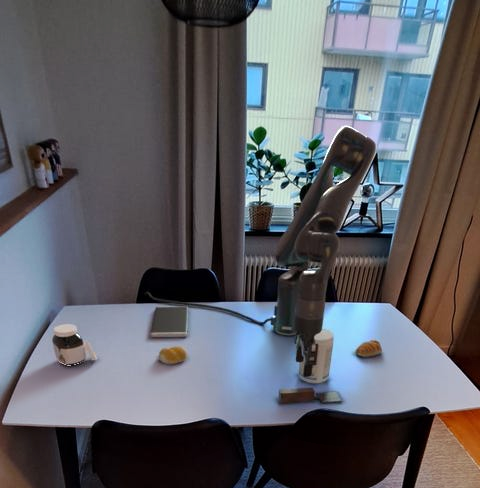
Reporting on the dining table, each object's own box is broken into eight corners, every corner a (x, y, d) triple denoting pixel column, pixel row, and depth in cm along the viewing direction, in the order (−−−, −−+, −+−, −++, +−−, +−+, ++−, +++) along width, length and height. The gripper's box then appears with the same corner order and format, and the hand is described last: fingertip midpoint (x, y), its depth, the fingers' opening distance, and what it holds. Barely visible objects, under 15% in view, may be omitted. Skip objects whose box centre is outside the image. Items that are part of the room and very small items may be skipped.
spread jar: (53, 360, 156) (45, 327, 149) (83, 350, 163) (77, 317, 156) (73, 373, 150) (65, 338, 143) (103, 361, 156) (98, 328, 150)
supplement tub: (319, 368, 156) (325, 325, 147) (334, 381, 148) (340, 337, 140) (292, 372, 153) (296, 329, 144) (306, 386, 146) (311, 342, 137)
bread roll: (190, 360, 158) (190, 349, 156) (166, 366, 154) (165, 355, 152) (179, 351, 164) (178, 340, 161) (155, 357, 160) (154, 346, 157)
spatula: (281, 406, 136) (282, 396, 134) (277, 396, 140) (278, 386, 138) (341, 402, 139) (343, 392, 137) (335, 393, 143) (337, 383, 141)
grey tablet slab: (188, 310, 195) (188, 306, 194) (187, 337, 173) (187, 333, 172) (155, 310, 194) (155, 306, 193) (150, 338, 172) (150, 333, 171)
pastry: (365, 360, 161) (367, 350, 159) (350, 353, 165) (351, 343, 163) (382, 353, 166) (385, 342, 164) (367, 346, 170) (369, 336, 168)
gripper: (331, 323, 119) (323, 380, 128) (315, 302, 130) (309, 356, 140) (302, 324, 118) (296, 382, 127) (289, 303, 129) (284, 357, 139)
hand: (303, 368), depth 133 cm, fingers open, 8 cm apart
